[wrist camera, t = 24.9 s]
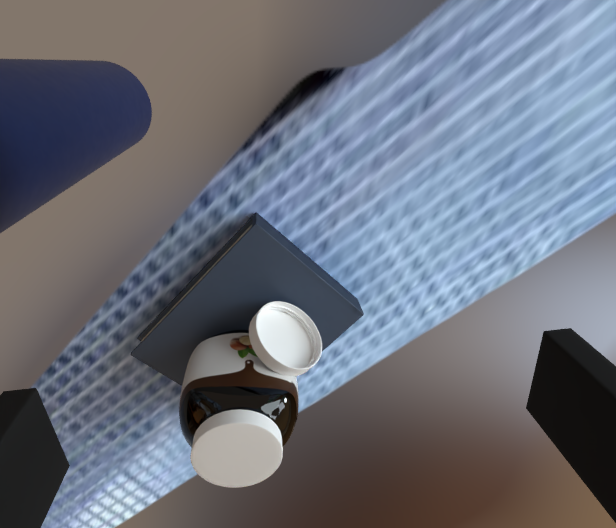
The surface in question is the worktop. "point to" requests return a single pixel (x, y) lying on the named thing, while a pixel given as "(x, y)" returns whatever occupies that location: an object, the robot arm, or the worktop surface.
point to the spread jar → (246, 395)
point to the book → (245, 297)
